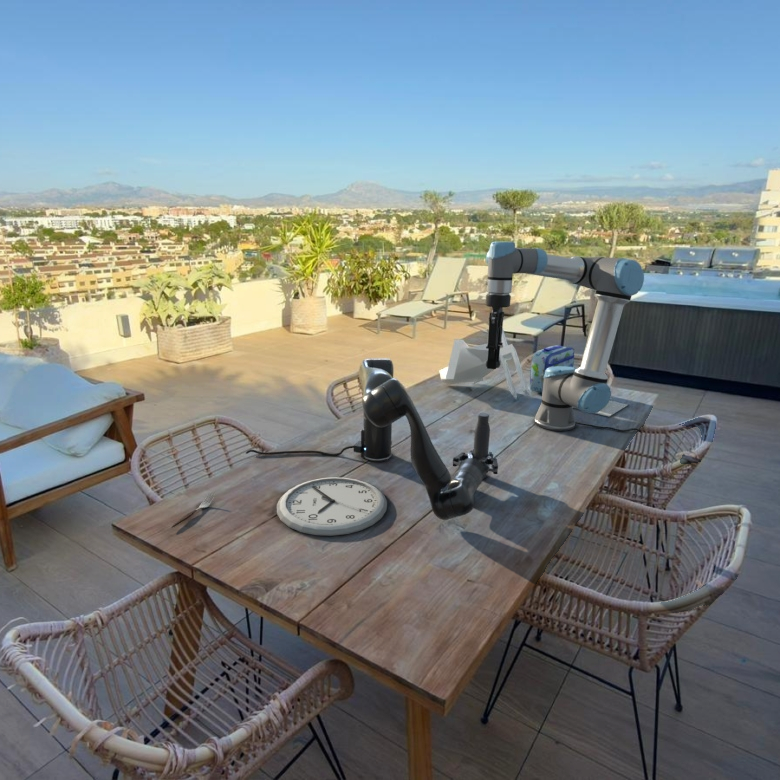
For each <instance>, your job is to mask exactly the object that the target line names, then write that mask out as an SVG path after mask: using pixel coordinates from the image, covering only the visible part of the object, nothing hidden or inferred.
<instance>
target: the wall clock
mask: <svg viewBox="0 0 780 780" xmlns="http://www.w3.org/2000/svg"><path fill="white" fill-rule="evenodd" d="M387 509H388V500H387V498H386V496H385V494H384V493H383V492H382V491H381V490H380V489H379V488H377V487H376V486H374V485H372V484H371V483H369V482H365V481H362V480H359V479H355V478H349V477H338V476H337V477H335V476H333V477H332V476H331V477H322V478H317V479H312V480H307V481H305V482H302V483H299V484H297V485H295V486H293V487H292V488H290V489H288V490H287V491H286V492H285V493H284V494H283V495H281V496H280V498H279V499H278V502H277V503H276V515H277V517H278V518H279V520H280V521H281V522H282V523H283V524H285V525H286V526H287V527H288V528H290V529H293V530H295V531H297V532H299V533H303V534H308V535H312V536H327V537H328V536H329V537H331V536H332V537H333V536H342V535H350V534H352V533H356V532H361V531H363V530H366V529H368V528H369V527H372V526H373V525H375V524H376V523H378V522H379V521H380V520H381V519H382V518H383V517H384V516H385V514H386V512H387Z"/></svg>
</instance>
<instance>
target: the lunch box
mask: <svg viewBox="0 0 780 780" xmlns="http://www.w3.org/2000/svg"><path fill="white" fill-rule="evenodd" d="M574 363H575V348H573V347H571V346H570V347H568V346H563V345H551V346H548V347H544V348H543V349H539V350H536V351H535V352H534V354H533V356H532V358H531V363H530V374H529V391H532V392H536V393H540V394H542V390H543V380H544V374H545V370H546V369H547V368H549V367H556V366H567V367H574Z"/></svg>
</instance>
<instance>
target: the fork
mask: <svg viewBox="0 0 780 780" xmlns="http://www.w3.org/2000/svg"><path fill="white" fill-rule="evenodd" d="M216 495H217V494H212V493H208V494H207V495H206V497H205V498H204V499H203V501H202V502H201V503H200V505H198V507H197V508H196V509H193V510H192V511H190V512H188V513H187V514H185V515H183V517H181V518H180V519H179V520H178V521H176V522H175V523H174V524H173V525H172V526H171V529H173V528H175V527H176V526H178V525H179V524H181V523H183V522H184V521H186V520H188V519H189V518H191V517H192V516H193V515H194V514H195V513H197V511H198V510H200V509H207V508H208V507H210V505H211V504H212V502H213V501H214V499H215V497H216Z"/></svg>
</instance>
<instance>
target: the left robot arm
mask: <svg viewBox="0 0 780 780" xmlns="http://www.w3.org/2000/svg"><path fill="white" fill-rule="evenodd" d="M394 372H395V371H394V363H393V361H392V360H391V359H390V358H365V359H363V360H362V361H361V362H360V365H359V368H358V378H359V382H360V385H361V392H362V394H363V395H362V397H361V405H362V409H363V428H362V429H361V430H360V440H358V441H357V442H356V443H355V444H354V445H348V446H345V447H343V448H342V449H341V450H340V451H339V452H337V453H329V452H324V451H321V450H284V451H283V450H282V451H269V452H268V451H267V452H264V451H263V452H262V451H258V450H255V449H249V450H247V451H245V454H246V455H247V454H250V453H255V454H258V455H262V456H263V455H266V456H268V455H269V456H271V455H282V454H283V455H285V454H320V455H325V456H331V457H338V456H340V455H342V454H343V453H344V452H345V451H346V450H349V449H353V453H358V454H360V457H361V458H363V459H365V460H367V461H368V462H374V463H379V462H380V463H381V462H386V461H388V460H390V459H391V458H392V445H393V441H392V432H393V430H392V428H393V427H392V425H393V423H395V422H397V421H398V420H400V419H402V418H403V417H405V418H406V419H407V421H408V426H409V429H410V461H411V466H412V468H413V469H414V471H415V473H416V475H417V476H418V478H419V479H420V481H421V482H422V484H423V485H424V488H425V490H426V493H427V496H428V499H429V503H430V506H431V510H432V512H433V514H434V516H436V518H437V519H440V520H442V521H448V520H451V519H454V518H458V517H461V516H465V515H468V514H470V513H471V512H472V511H473V509H474V508H475V507H474V506H475V503H474V494H475V492H476V490H478V488H479V487H480V486H481V484H482V482H483V480H484V479H485V478H484V476H485V474H486V473H487V474H488V473H489V472H492V474H493V475H498V474H499V473H498V470H499V463H498V459H497V458H496V457H494V453H493V452H492V451H488V455H487V457H486V458H485V457H483V458H482V459H479V460H478V459H474V458H473V451H474V448H473V449H471V450H470V451H469V452H467V453H466V452H461V453H459V454H457V455H456V456H454V457H452V467H455V468H456V470H455V471H454V473H453V476H451V475H452V474H451V472H450V471H449V469H448V467H447V466H446V464H445V463H444V461H443V459H442V457H441V456H440V455H439V453H438V451H437V450H436V448H435V445H434V443H433V442H432V439H431V437H430V435H429V433H428V431H427V430H428V429H426V426H425V424H424V421H423V420H422V418H421V416H420V414H419V411H418V410H417V408H416V406H415V404H414V401H413V400H412V398H411V396H410V394H409V393H408V391H407V389H406V387H405V386H404V385H403V383H401V382H400V381H399V380H398V379H397V378H394ZM487 474H486V475H487ZM483 478H484V479H483ZM444 488H447V489H446V490H443V489H444ZM442 490H443V491H442Z"/></svg>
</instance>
